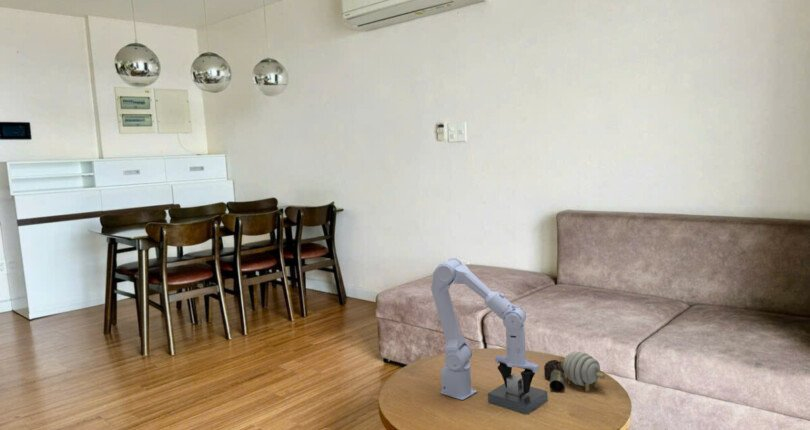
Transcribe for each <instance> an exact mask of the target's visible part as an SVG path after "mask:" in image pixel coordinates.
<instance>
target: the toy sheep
mask: <svg viewBox="0 0 810 430" xmlns="http://www.w3.org/2000/svg"><path fill="white" fill-rule="evenodd" d="M561 368H562V369H563V370H564V373H563V374H565V375H566V383H567V385H571V384H572V383H573V384H575V385H576V386H582V387H584V391H585V392H590V385H591V384H592V385H593V388H594V389H597V388H598V380H599V378H600V379H603V380H604V379H605V378H606V375H605V374H604V373H601V365H600V362H599V361H598V359H595V357H593V356H592V355H590V354H589V353H586V352H580V351H579V352H577V351H576V352H575V351H573V352H570V353H568V354H567V355H566V356H565V357H564V358H563V359H562V360H561Z"/></svg>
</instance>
